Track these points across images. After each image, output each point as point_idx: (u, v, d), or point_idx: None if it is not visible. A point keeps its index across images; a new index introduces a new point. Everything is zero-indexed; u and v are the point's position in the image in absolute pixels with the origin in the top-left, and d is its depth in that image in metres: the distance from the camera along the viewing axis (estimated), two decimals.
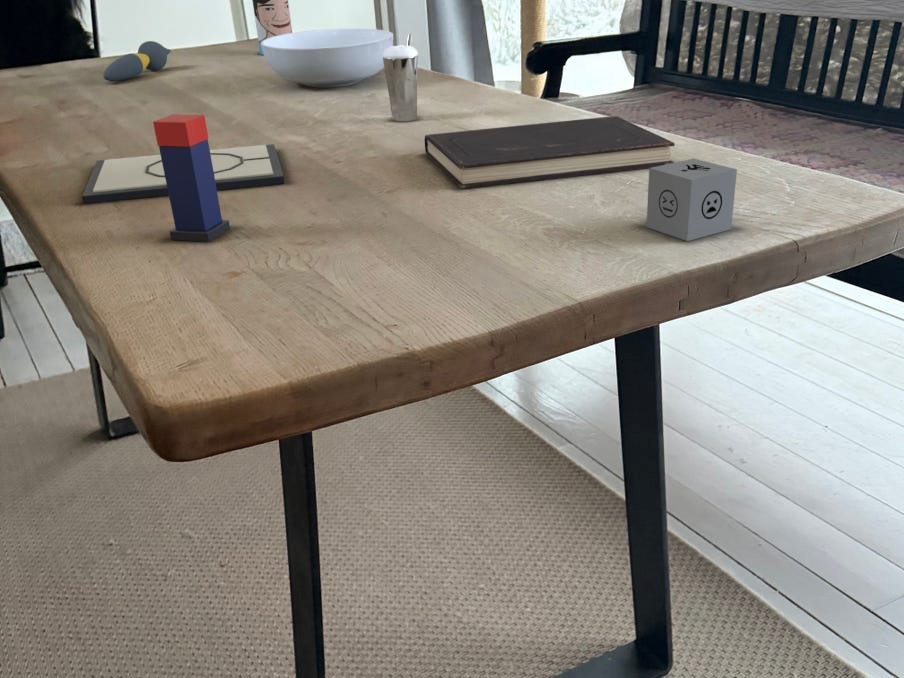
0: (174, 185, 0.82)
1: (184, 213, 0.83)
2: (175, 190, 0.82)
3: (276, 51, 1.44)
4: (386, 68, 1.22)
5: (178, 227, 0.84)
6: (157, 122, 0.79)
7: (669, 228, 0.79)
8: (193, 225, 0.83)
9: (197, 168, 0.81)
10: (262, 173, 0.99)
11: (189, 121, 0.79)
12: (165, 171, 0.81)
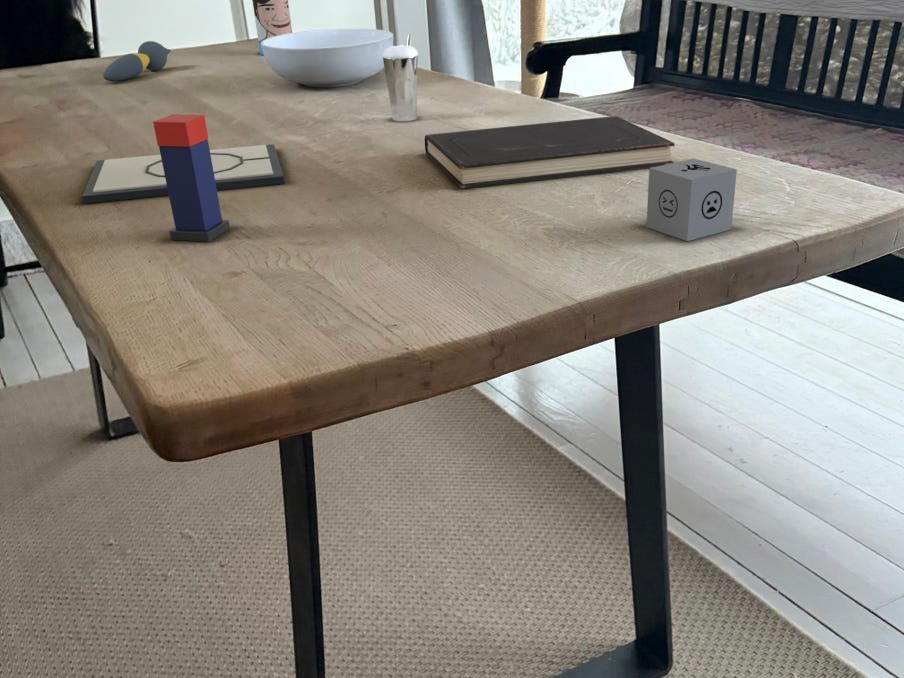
0: (174, 185, 0.82)
1: (184, 213, 0.83)
2: (175, 190, 0.82)
3: (276, 51, 1.44)
4: (386, 68, 1.22)
5: (178, 227, 0.84)
6: (157, 122, 0.79)
7: (669, 228, 0.79)
8: (193, 225, 0.83)
9: (197, 168, 0.81)
10: (262, 173, 0.99)
11: (189, 121, 0.79)
12: (165, 171, 0.81)
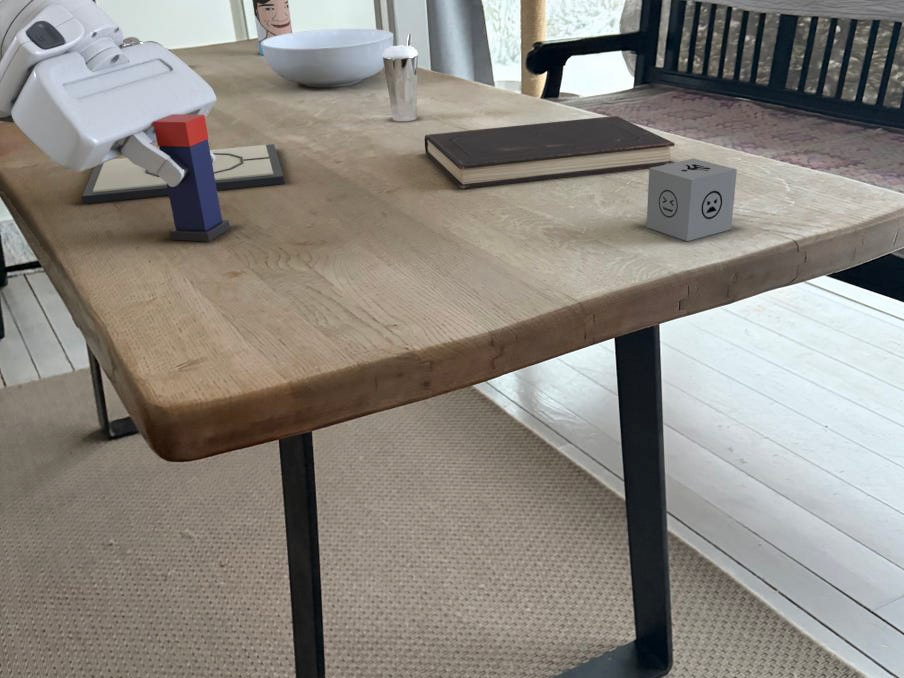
0: None
1: (184, 213, 0.83)
2: (175, 190, 0.82)
3: (276, 51, 1.44)
4: (386, 68, 1.22)
5: (178, 227, 0.84)
6: (157, 122, 0.79)
7: (669, 228, 0.79)
8: (193, 225, 0.83)
9: (197, 168, 0.81)
10: (262, 173, 0.99)
11: (189, 121, 0.79)
12: None
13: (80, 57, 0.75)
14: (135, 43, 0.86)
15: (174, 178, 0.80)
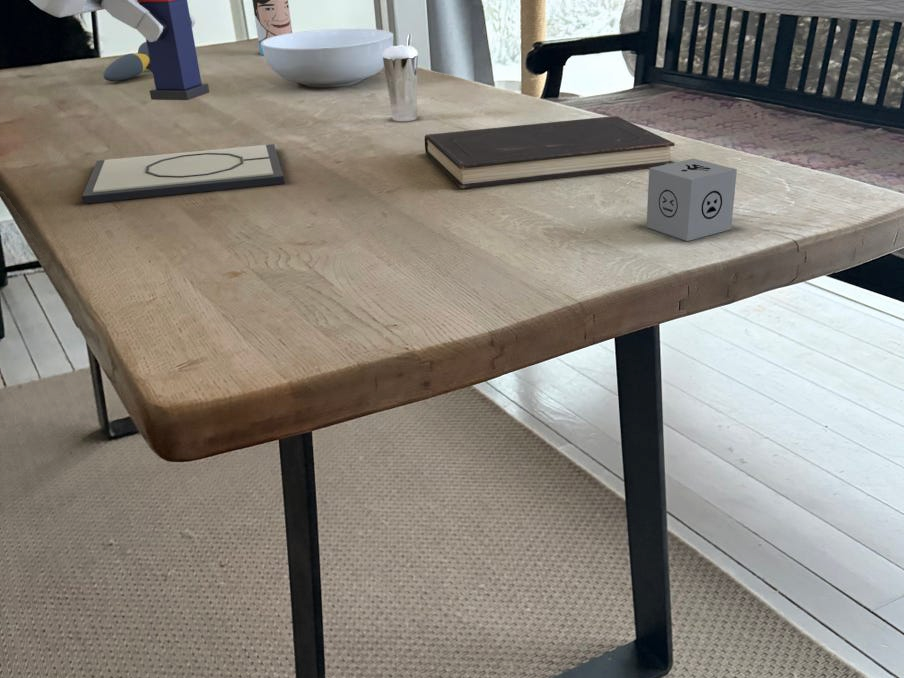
0: (154, 42, 0.84)
1: (163, 71, 0.85)
2: (155, 48, 0.84)
3: (276, 51, 1.44)
4: (386, 68, 1.22)
5: (158, 87, 0.86)
6: None
7: (669, 228, 0.79)
8: (172, 84, 0.85)
9: (175, 24, 0.83)
10: (262, 173, 0.99)
11: None
12: None
13: None
14: None
15: (153, 32, 0.82)
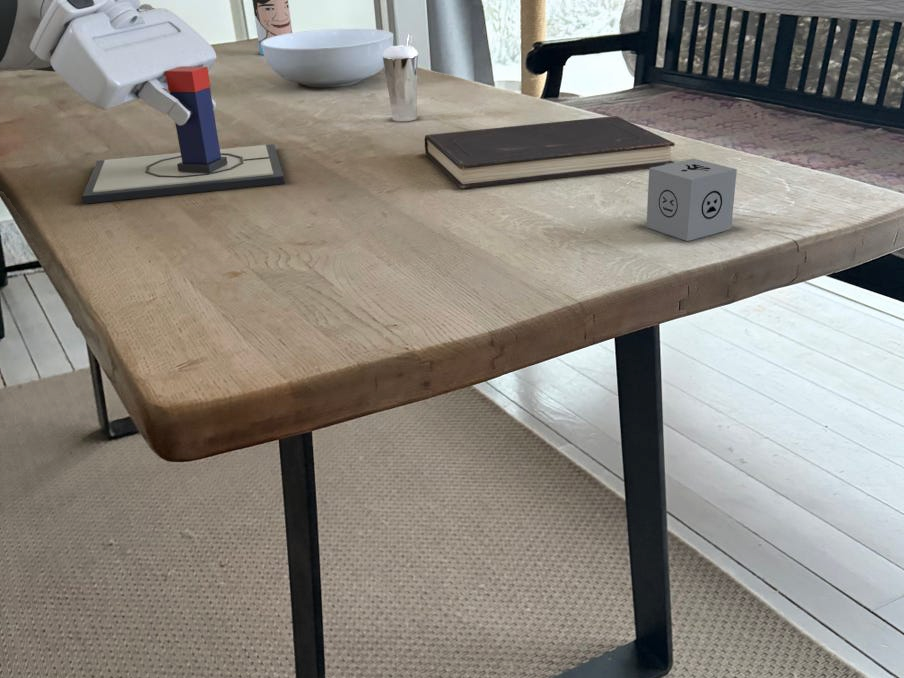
0: None
1: (189, 148, 1.00)
2: (182, 129, 0.99)
3: (276, 51, 1.44)
4: (386, 68, 1.22)
5: (184, 161, 1.01)
6: (168, 71, 0.96)
7: (669, 228, 0.79)
8: (197, 159, 1.00)
9: (200, 110, 0.98)
10: (262, 173, 0.99)
11: (195, 71, 0.96)
12: None
13: (106, 16, 0.93)
14: (149, 9, 1.03)
15: (182, 118, 0.97)
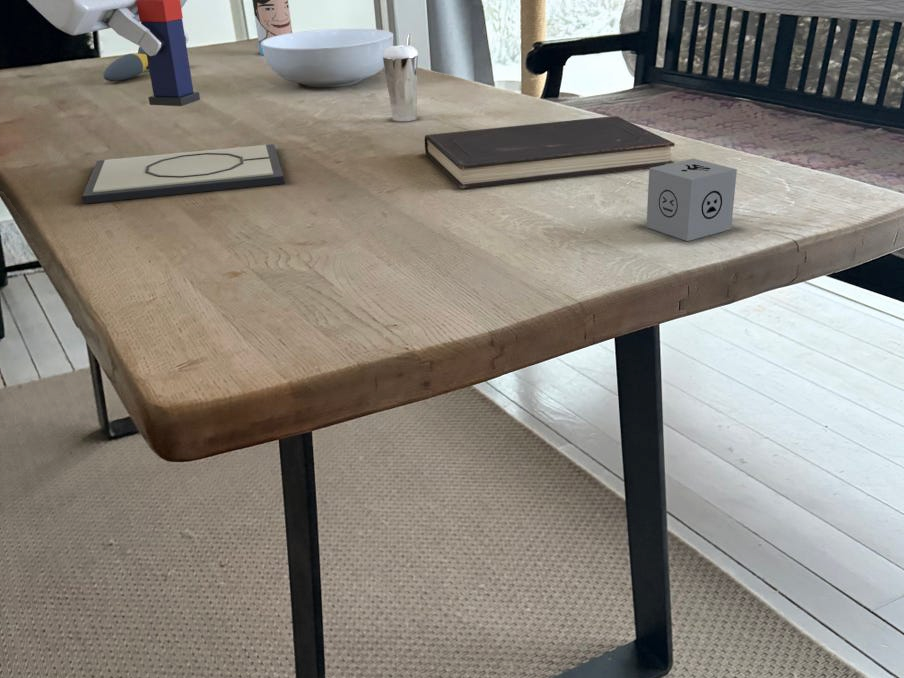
0: (153, 56, 0.98)
1: (161, 81, 0.99)
2: (154, 60, 0.98)
3: (276, 51, 1.44)
4: (386, 68, 1.22)
5: (156, 94, 0.99)
6: (139, 0, 0.95)
7: (669, 228, 0.79)
8: (168, 92, 0.99)
9: (172, 41, 0.97)
10: (262, 173, 0.99)
11: (166, 0, 0.95)
12: None
13: None
14: None
15: (152, 48, 0.96)
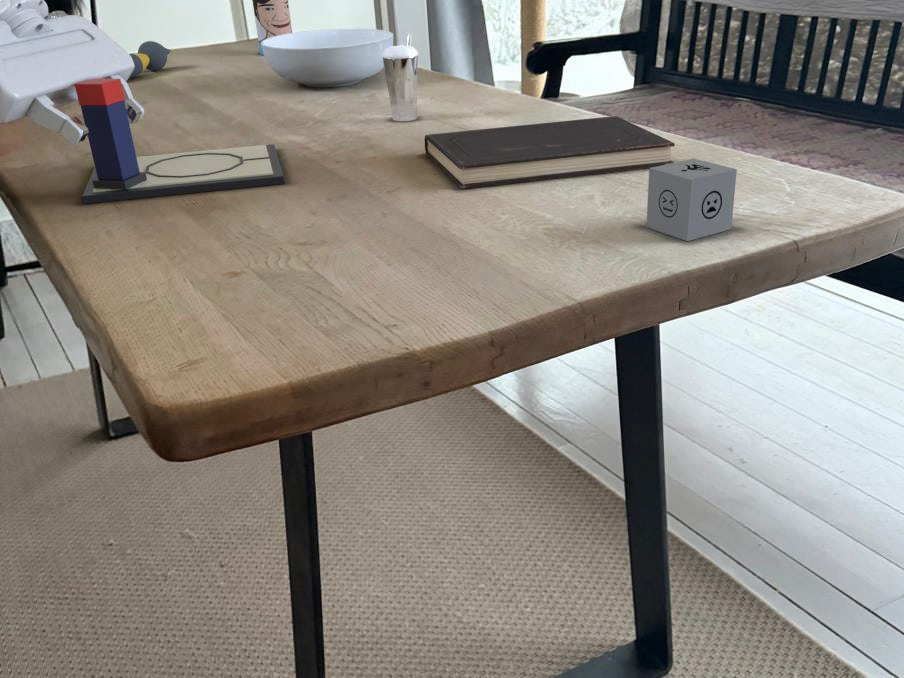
0: (95, 139, 0.94)
1: (104, 164, 0.95)
2: (96, 144, 0.95)
3: (276, 51, 1.44)
4: (386, 68, 1.22)
5: (100, 177, 0.96)
6: (78, 84, 0.92)
7: (669, 228, 0.79)
8: (112, 175, 0.96)
9: (113, 124, 0.94)
10: (262, 173, 0.99)
11: (105, 83, 0.92)
12: (87, 127, 0.94)
13: (6, 25, 0.88)
14: (62, 16, 0.99)
15: (74, 137, 0.90)
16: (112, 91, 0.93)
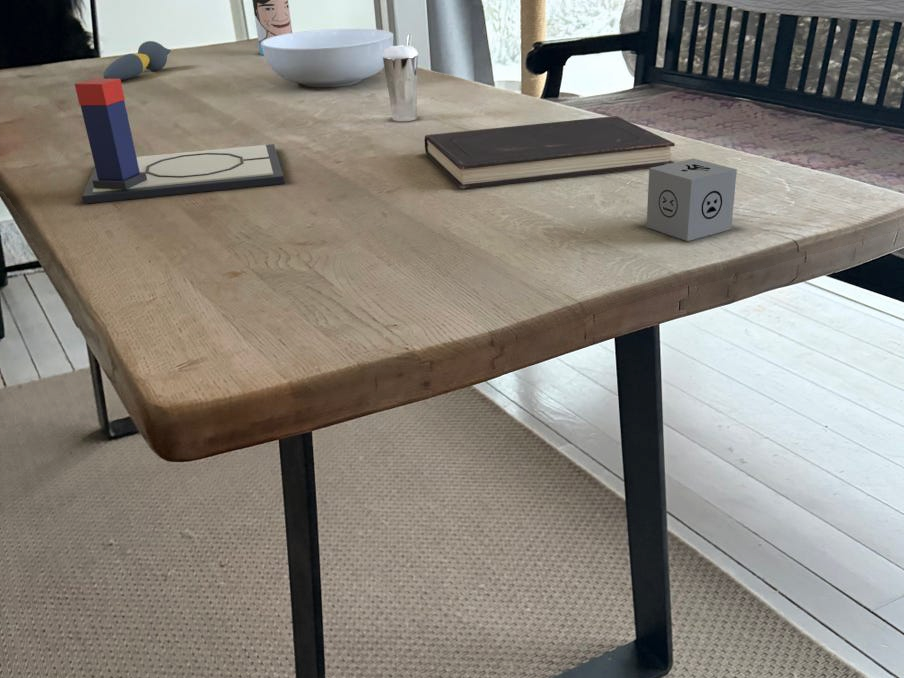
0: (95, 139, 0.94)
1: (104, 164, 0.95)
2: (96, 144, 0.95)
3: (276, 51, 1.44)
4: (386, 68, 1.22)
5: (100, 177, 0.96)
6: (78, 84, 0.92)
7: (669, 228, 0.79)
8: (112, 175, 0.96)
9: (113, 124, 0.94)
10: (262, 173, 0.99)
11: (105, 83, 0.92)
12: (87, 127, 0.94)
13: None
14: None
15: None
16: (112, 91, 0.93)
